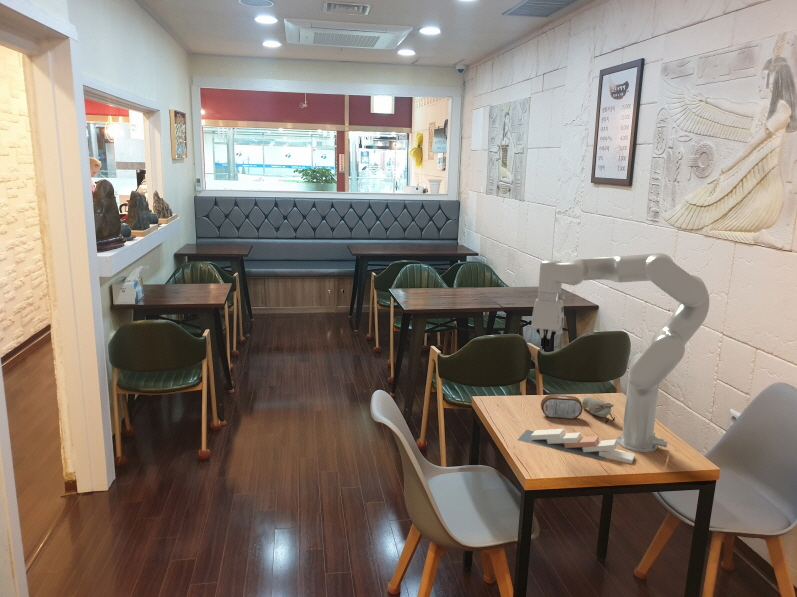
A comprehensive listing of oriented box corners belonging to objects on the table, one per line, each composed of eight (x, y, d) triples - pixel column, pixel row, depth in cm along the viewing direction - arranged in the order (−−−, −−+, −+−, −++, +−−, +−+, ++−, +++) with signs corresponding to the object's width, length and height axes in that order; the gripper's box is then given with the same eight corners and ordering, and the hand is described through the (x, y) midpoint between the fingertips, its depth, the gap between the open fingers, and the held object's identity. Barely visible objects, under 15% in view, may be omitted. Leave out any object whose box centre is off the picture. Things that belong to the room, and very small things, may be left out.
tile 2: (552, 438, 203) (581, 437, 198) (547, 443, 199) (577, 442, 193) (551, 433, 203) (580, 432, 197) (546, 439, 198) (576, 437, 193)
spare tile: (563, 443, 196) (594, 441, 190) (568, 437, 200) (598, 436, 195) (565, 447, 196) (595, 446, 190) (569, 442, 200) (599, 440, 195)
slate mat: (609, 449, 196) (609, 448, 196) (603, 461, 188) (603, 460, 188) (526, 430, 210) (526, 429, 210) (517, 440, 201) (517, 439, 201)
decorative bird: (588, 408, 233) (590, 389, 232) (617, 423, 219) (619, 404, 217) (577, 409, 231) (579, 391, 230) (605, 425, 217) (607, 405, 215)
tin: (580, 417, 223) (582, 395, 222) (582, 420, 220) (584, 398, 219) (539, 414, 225) (541, 393, 223) (540, 418, 222) (542, 396, 220)
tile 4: (587, 446, 197) (618, 444, 192) (583, 452, 193) (614, 449, 188) (585, 441, 197) (616, 439, 192) (582, 447, 193) (613, 444, 188)
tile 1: (536, 434, 205) (565, 433, 200) (531, 439, 201) (560, 438, 196) (535, 430, 205) (564, 428, 200) (530, 435, 201) (559, 433, 196)
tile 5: (601, 449, 195) (634, 458, 190) (598, 455, 191) (631, 464, 186) (602, 445, 195) (634, 454, 190) (599, 450, 190) (632, 460, 186)
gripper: (574, 297, 203) (569, 349, 207) (531, 292, 210) (527, 343, 214) (568, 301, 197) (564, 354, 200) (524, 295, 204) (520, 347, 207)
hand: (545, 348), depth 207 cm, fingers closed
